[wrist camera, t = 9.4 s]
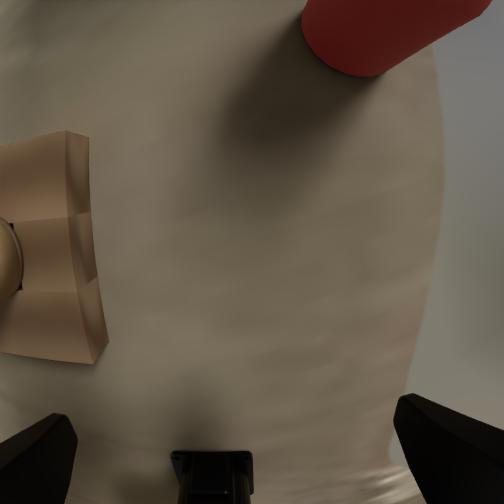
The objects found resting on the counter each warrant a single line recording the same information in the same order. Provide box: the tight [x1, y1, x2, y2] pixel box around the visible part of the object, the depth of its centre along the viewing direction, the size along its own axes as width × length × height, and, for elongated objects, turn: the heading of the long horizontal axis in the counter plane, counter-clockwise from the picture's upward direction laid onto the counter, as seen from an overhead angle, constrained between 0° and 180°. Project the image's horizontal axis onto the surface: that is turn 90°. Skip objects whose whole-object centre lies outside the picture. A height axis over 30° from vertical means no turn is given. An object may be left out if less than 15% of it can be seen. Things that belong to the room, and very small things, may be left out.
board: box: [0, 131, 109, 364], centre depth 16 cm, size 13×12×3 cm
